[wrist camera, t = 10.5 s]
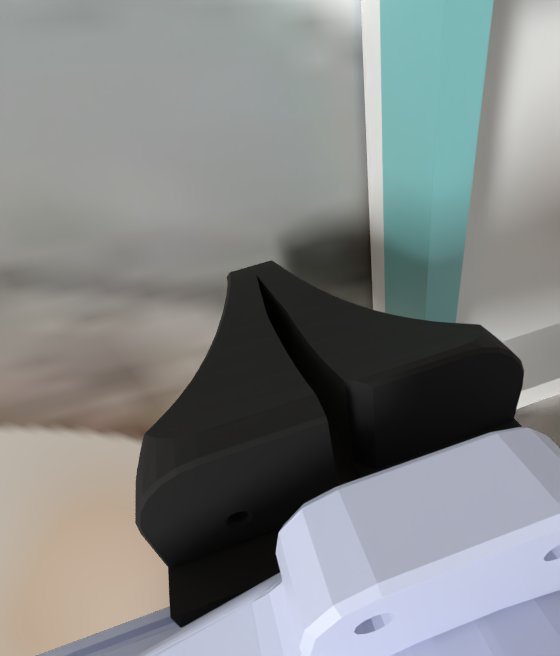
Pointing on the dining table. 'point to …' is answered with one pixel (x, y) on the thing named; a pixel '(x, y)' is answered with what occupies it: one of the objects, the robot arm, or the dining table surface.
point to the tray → (468, 170)
